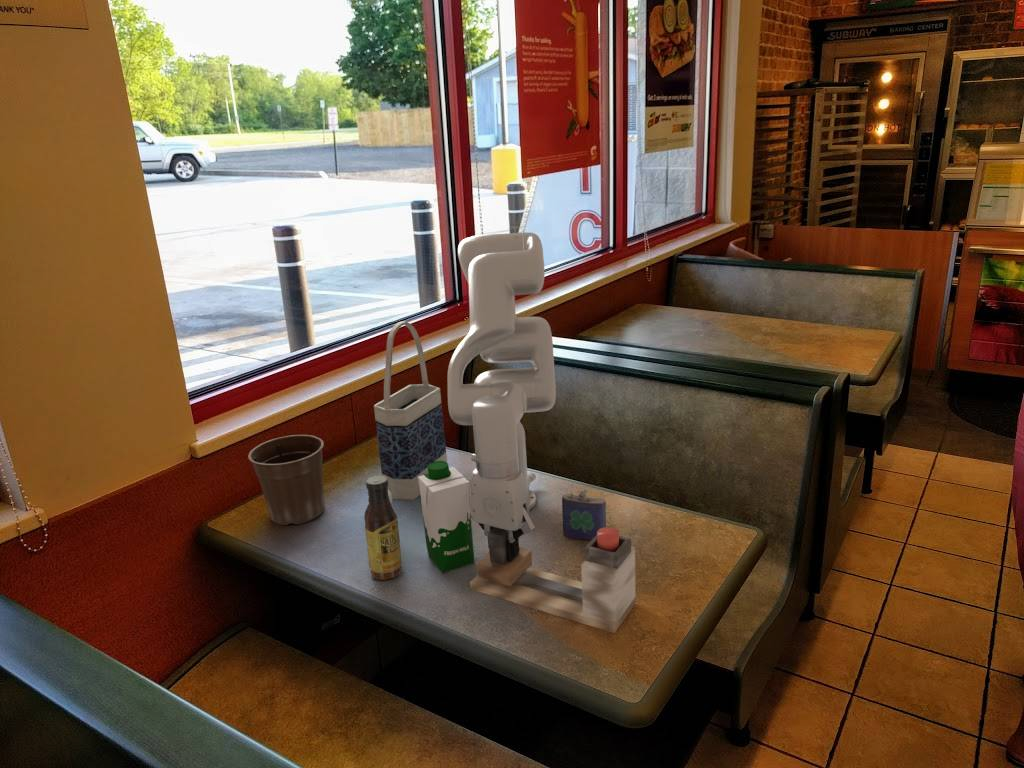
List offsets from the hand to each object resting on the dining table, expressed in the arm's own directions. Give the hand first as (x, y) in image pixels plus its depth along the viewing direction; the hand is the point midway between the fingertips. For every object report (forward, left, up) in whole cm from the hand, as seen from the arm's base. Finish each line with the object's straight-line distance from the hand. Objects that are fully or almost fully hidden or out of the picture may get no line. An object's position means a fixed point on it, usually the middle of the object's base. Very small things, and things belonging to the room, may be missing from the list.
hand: (504, 554), depth 141 cm
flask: (-21, +6, -7) cm, 23 cm away
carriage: (0, 0, -3) cm, 3 cm away
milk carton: (-2, -14, -6) cm, 16 cm away
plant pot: (-3, -58, -7) cm, 58 cm away
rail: (0, +9, -6) cm, 11 cm away
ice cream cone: (-3, -32, -6) cm, 33 cm away
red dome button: (0, +21, +7) cm, 22 cm away
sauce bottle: (+7, -23, -6) cm, 25 cm away
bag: (-27, -42, -7) cm, 50 cm away
